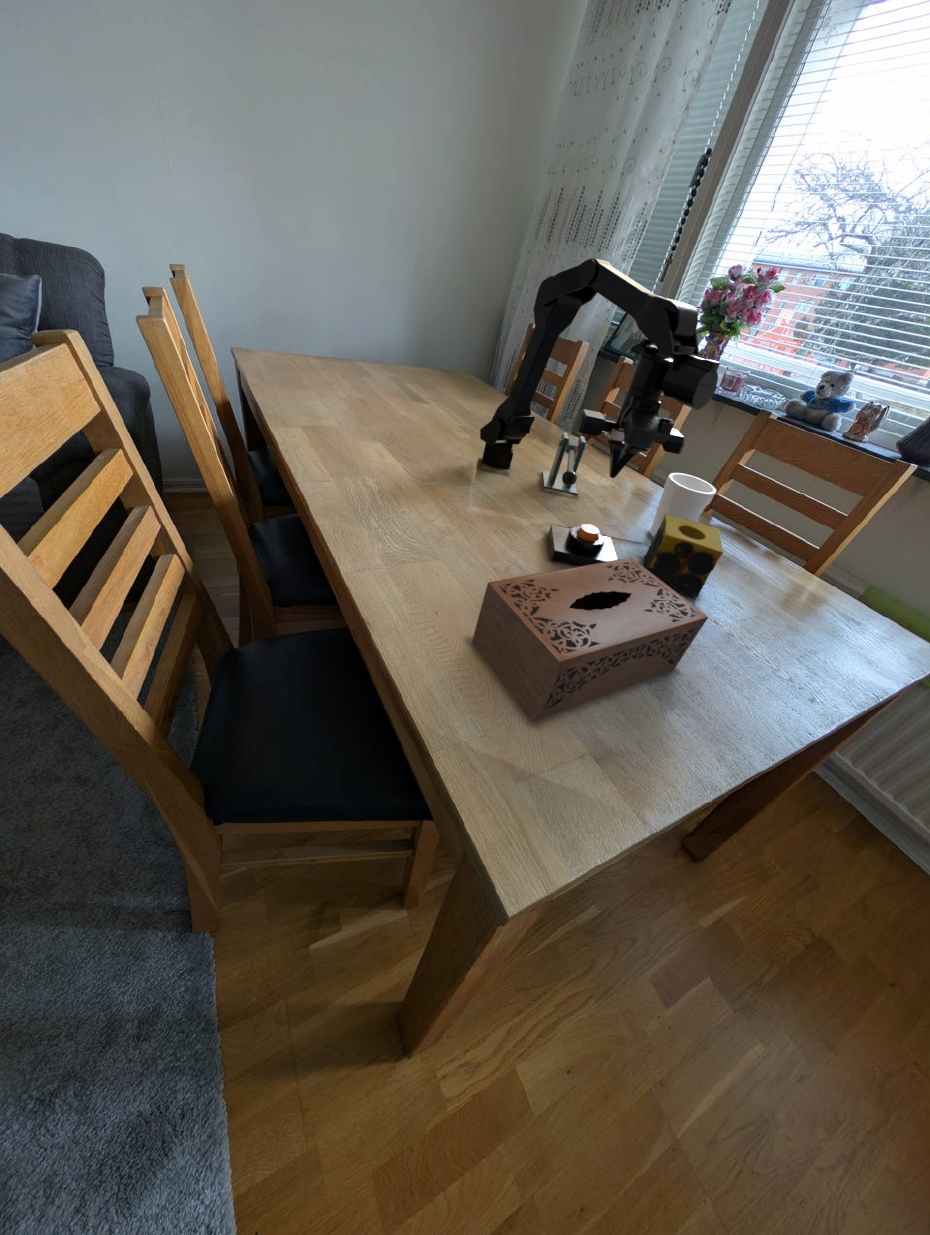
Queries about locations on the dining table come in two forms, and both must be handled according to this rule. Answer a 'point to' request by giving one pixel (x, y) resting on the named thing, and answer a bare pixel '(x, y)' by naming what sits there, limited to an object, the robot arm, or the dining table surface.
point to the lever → (570, 461)
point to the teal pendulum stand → (553, 478)
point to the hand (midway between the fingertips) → (611, 477)
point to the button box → (579, 547)
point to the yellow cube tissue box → (683, 554)
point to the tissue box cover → (582, 633)
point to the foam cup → (683, 498)
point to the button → (588, 532)
